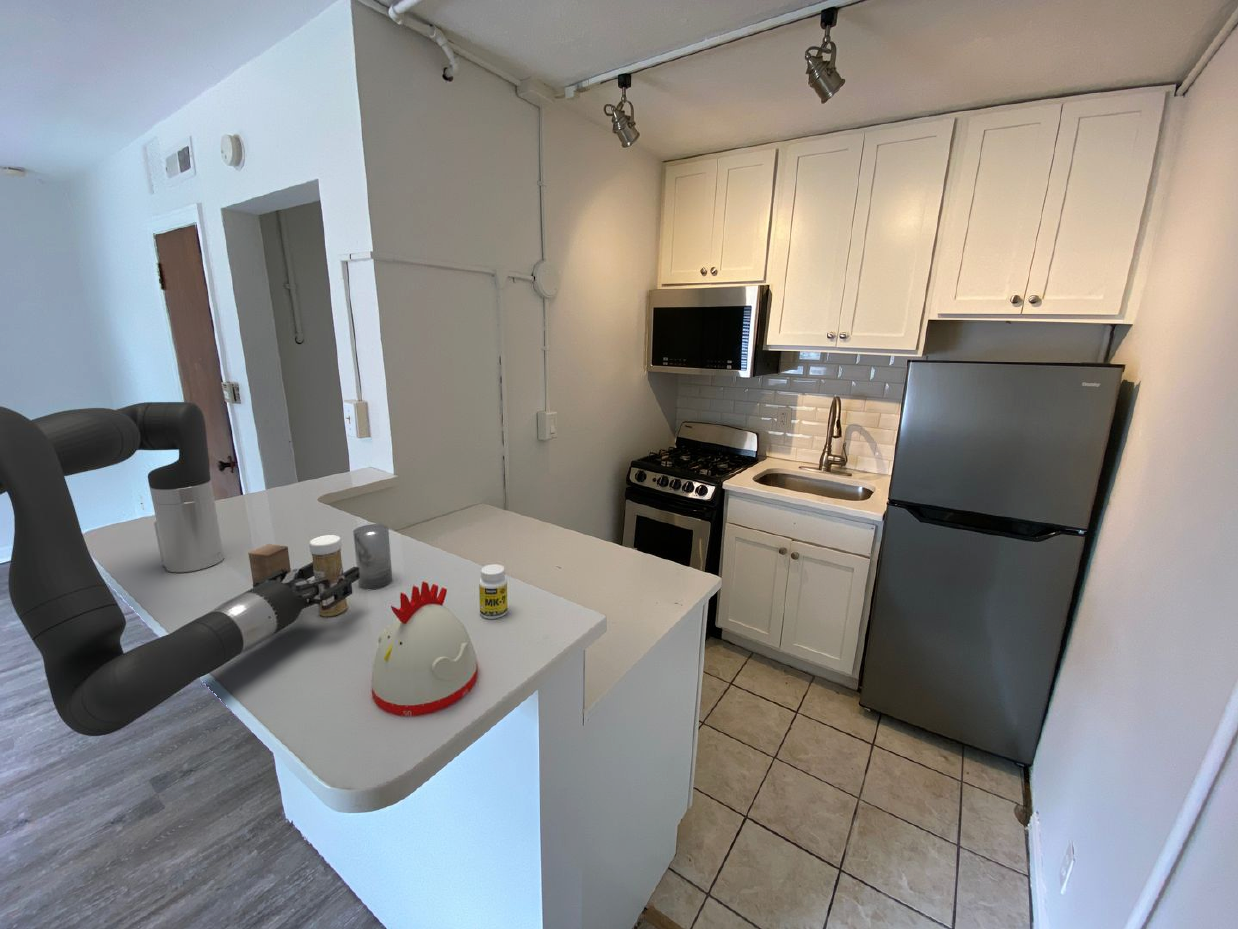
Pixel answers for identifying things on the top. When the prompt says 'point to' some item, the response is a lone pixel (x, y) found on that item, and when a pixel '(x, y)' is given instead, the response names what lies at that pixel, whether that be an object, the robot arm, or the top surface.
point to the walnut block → (268, 561)
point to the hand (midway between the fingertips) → (337, 568)
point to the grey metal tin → (373, 556)
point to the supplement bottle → (493, 592)
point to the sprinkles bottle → (327, 566)
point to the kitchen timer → (423, 657)
